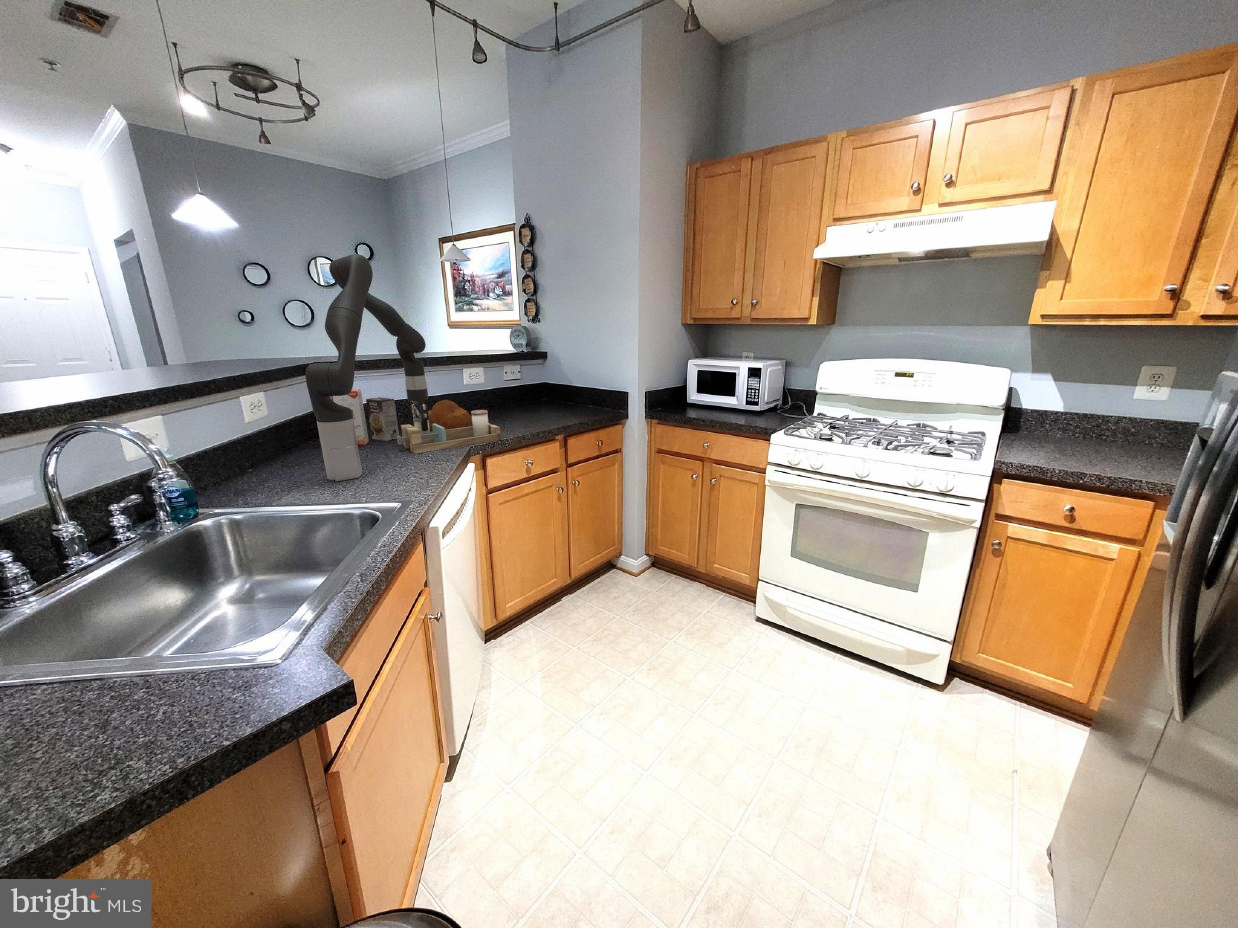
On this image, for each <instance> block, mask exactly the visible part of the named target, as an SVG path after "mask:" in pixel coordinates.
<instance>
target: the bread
mask: <svg viewBox="0 0 1238 928" xmlns="http://www.w3.org/2000/svg"><path fill="white" fill-rule="evenodd" d="M428 414H429V428H430V432H433V429H432V424H437V425H439V426H442V427H444V428H445V430H448V429H456V428H463V427H470V426H472V425H473V424H472V415H471V413H469V412H468V411H467V410H466V409H464V408H462V407H460V406H459V405H458V404H457V403H455V402H454V401H452V400H450V399H442V400H439V401H438V402H436V403H435V404H434V405H433V406H432V407H431V409H430V410H428ZM424 417H425V416H424Z"/></svg>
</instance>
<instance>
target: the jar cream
mask: <svg viewBox="0 0 1238 928" xmlns="http://www.w3.org/2000/svg"><path fill="white" fill-rule="evenodd" d="M488 413H489V412H488V410H487V409H475V410H471V412H470V416H471V419H472V424H471V425H472V426H473V434H474V436H473V437H477V436H483V435H489V425H488V423H489V417H488Z"/></svg>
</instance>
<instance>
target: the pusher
mask: <svg viewBox="0 0 1238 928" xmlns="http://www.w3.org/2000/svg"><path fill="white" fill-rule="evenodd" d="M432 429H433V433H431V434H424V435H421V439H428V438H434V442H433V443H437V442H443V441H446V433H445V428H444V427H442V426H439V425H437V424H432ZM396 441H397V444H398V446H401V445H403V442H407V441H409V437H402V435H399V436H397V439H396Z"/></svg>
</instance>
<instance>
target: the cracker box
mask: <svg viewBox="0 0 1238 928" xmlns="http://www.w3.org/2000/svg"><path fill="white" fill-rule="evenodd" d="M330 398H331V400H332V401H333V402H335V403H337V404H339V405H341V406H345V407H348V408H350V409H351V410H352V414H353V420H354V426H355V433H356V439H357V445H358V446H365V445H367V444H368V443H369V440H370V439H369V434H368V427H367V421H366V415H365V413H366V412H365V408H364V400H363V397H362V389H361V388H355V389H354V388H352V390H351V392H350V393H349V394H348V395H344V396H330Z"/></svg>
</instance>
